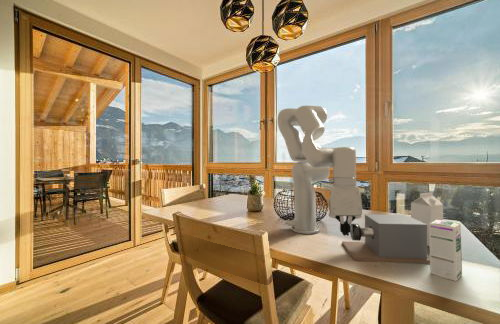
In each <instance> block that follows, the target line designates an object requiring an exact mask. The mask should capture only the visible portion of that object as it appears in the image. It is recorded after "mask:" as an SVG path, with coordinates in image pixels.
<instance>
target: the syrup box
mask: <svg viewBox="0 0 500 324" xmlns="http://www.w3.org/2000/svg"><path fill="white" fill-rule="evenodd" d="M428 247H429V258H430V264H429V271H430V274H432V275H435V276H437V277H441V278H444V279H446V280H447V279H448V280H449V281H453V282H457V280H459V279H460V278H461V276H462V275H463V263H462V262H463V261H462V259H463V258H462V228H461V223H459V222H455V221H449V220H444V219H443V220H435V221H433V222H431V223H429V246H428Z"/></svg>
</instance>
